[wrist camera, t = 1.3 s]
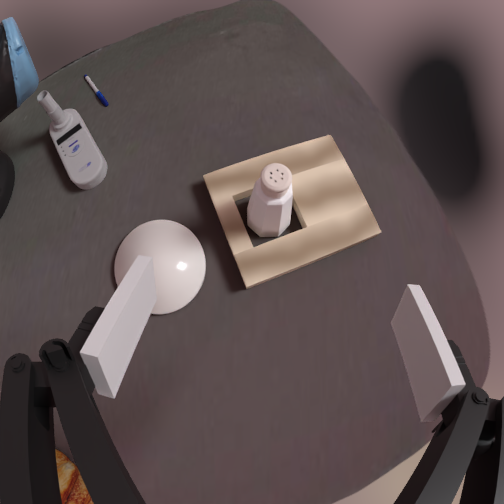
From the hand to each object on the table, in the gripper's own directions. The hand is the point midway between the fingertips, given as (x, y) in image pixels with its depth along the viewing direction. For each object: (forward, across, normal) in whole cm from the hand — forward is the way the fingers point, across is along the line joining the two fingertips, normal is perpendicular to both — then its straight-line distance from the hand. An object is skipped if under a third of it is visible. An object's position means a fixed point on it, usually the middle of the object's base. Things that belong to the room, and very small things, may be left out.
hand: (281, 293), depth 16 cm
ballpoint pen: (+36, -30, +7) cm, 47 cm away
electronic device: (+28, -28, -1) cm, 40 cm away
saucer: (+17, -12, -12) cm, 24 cm away
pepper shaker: (+22, 0, -6) cm, 23 cm away
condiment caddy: (+23, +2, -5) cm, 24 cm away
